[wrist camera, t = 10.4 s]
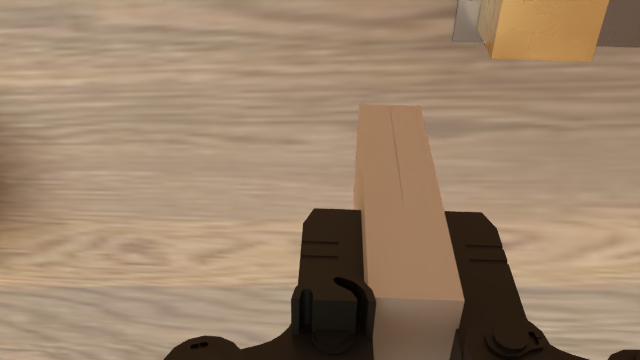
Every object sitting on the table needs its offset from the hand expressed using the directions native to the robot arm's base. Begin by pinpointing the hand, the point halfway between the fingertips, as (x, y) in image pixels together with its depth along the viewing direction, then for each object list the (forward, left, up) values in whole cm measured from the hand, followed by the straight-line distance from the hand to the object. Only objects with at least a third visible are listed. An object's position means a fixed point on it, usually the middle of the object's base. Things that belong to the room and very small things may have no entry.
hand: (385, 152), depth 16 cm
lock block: (-4, +5, -14) cm, 15 cm away
